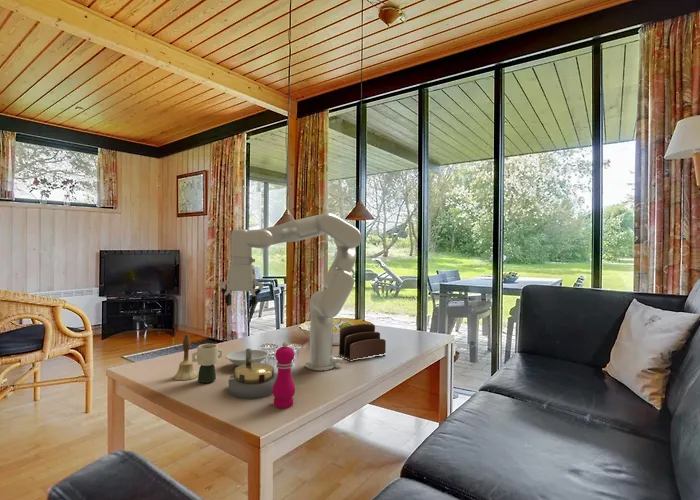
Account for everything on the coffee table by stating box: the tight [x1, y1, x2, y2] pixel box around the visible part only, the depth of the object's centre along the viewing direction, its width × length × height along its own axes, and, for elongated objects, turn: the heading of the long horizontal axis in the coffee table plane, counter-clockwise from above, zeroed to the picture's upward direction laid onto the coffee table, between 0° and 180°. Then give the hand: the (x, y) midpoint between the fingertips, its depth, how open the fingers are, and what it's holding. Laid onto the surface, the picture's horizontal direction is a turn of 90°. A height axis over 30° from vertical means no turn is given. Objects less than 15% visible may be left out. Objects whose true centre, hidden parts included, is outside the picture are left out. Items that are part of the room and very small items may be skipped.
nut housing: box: [228, 372, 278, 400], centre depth 137 cm, size 17×17×4 cm
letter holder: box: [338, 323, 387, 360], centre depth 181 cm, size 10×20×14 cm, turn 122°
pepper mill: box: [272, 341, 296, 409], centre depth 125 cm, size 7×7×20 cm
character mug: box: [191, 343, 223, 383], centre depth 143 cm, size 11×7×13 cm, turn 128°
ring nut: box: [233, 348, 275, 384], centre depth 137 cm, size 13×13×8 cm
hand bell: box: [173, 333, 198, 381], centre depth 147 cm, size 8×8×16 cm
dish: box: [225, 349, 270, 367], centre depth 161 cm, size 18×14×5 cm
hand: (241, 305), depth 151 cm, fingers open, 9 cm apart
